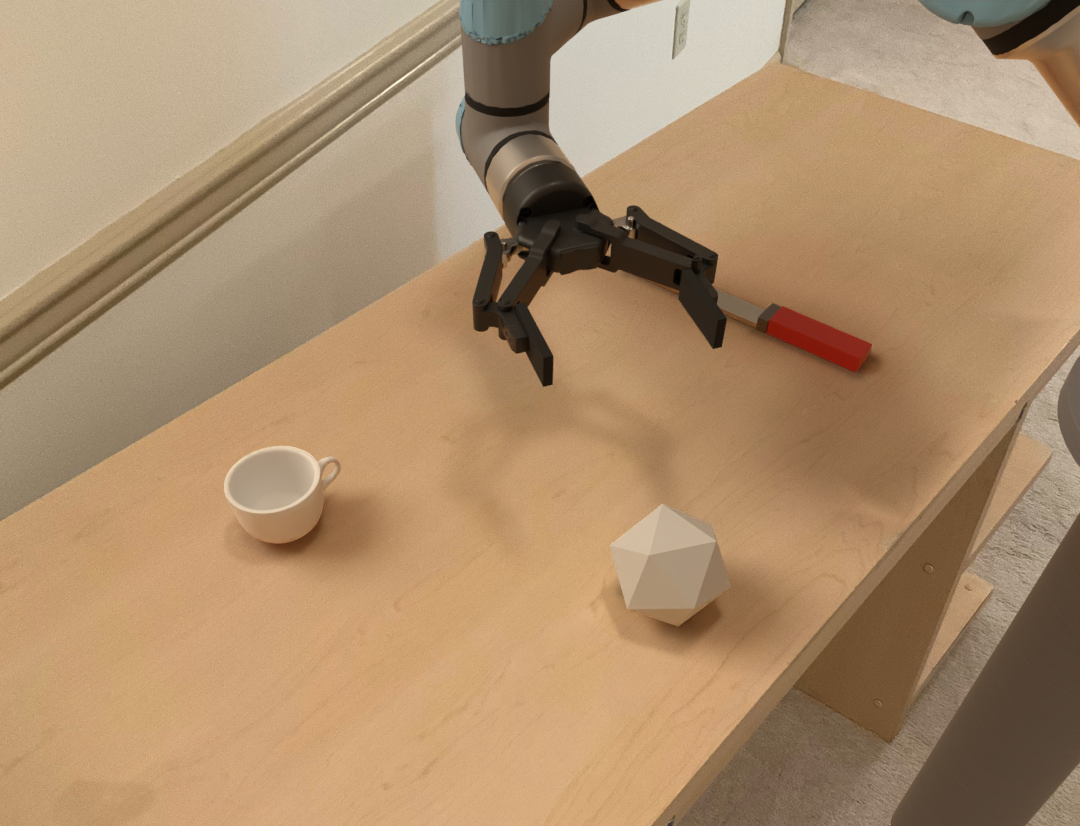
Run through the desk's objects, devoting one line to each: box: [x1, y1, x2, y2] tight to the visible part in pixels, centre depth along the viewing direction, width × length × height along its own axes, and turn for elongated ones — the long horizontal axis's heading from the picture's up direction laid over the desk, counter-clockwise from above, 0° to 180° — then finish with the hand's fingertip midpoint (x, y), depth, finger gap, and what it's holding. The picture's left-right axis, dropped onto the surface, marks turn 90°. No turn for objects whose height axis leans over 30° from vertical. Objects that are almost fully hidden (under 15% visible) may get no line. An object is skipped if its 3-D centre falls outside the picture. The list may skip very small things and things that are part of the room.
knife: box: [637, 276, 873, 373], centre depth 105 cm, size 27×3×2 cm, turn 53°
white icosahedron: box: [608, 503, 732, 628], centre depth 79 cm, size 8×9×10 cm
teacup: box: [223, 445, 342, 545], centre depth 85 cm, size 10×8×5 cm
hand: (636, 352), depth 74 cm, fingers open, 13 cm apart
